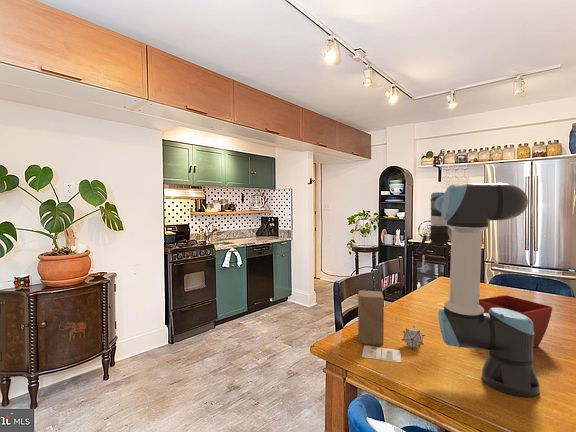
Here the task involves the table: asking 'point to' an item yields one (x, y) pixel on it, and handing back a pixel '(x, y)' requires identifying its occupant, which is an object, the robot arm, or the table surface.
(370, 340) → the wooden block
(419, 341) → the game die
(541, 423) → the table surface
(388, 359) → the page
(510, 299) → the plant pot
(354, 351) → the table surface
